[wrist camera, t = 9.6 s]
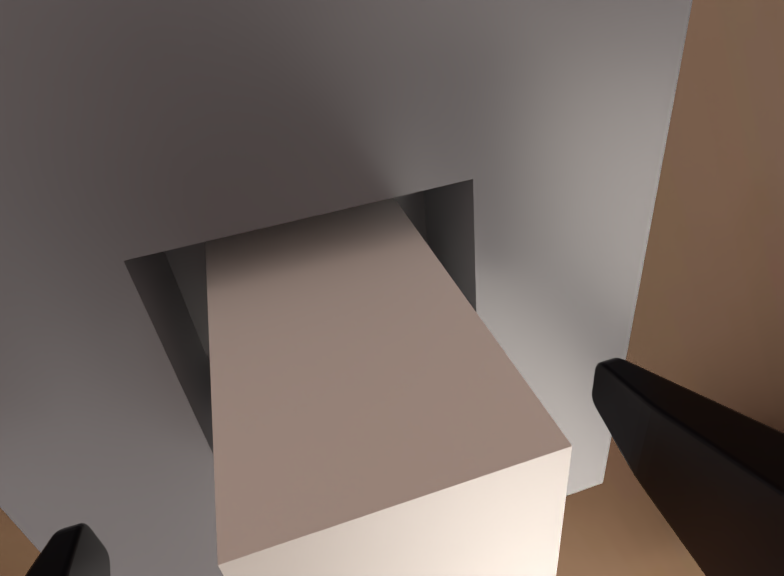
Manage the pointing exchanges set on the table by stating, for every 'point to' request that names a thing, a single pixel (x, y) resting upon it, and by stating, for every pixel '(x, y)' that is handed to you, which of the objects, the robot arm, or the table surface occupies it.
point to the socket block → (298, 213)
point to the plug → (370, 411)
